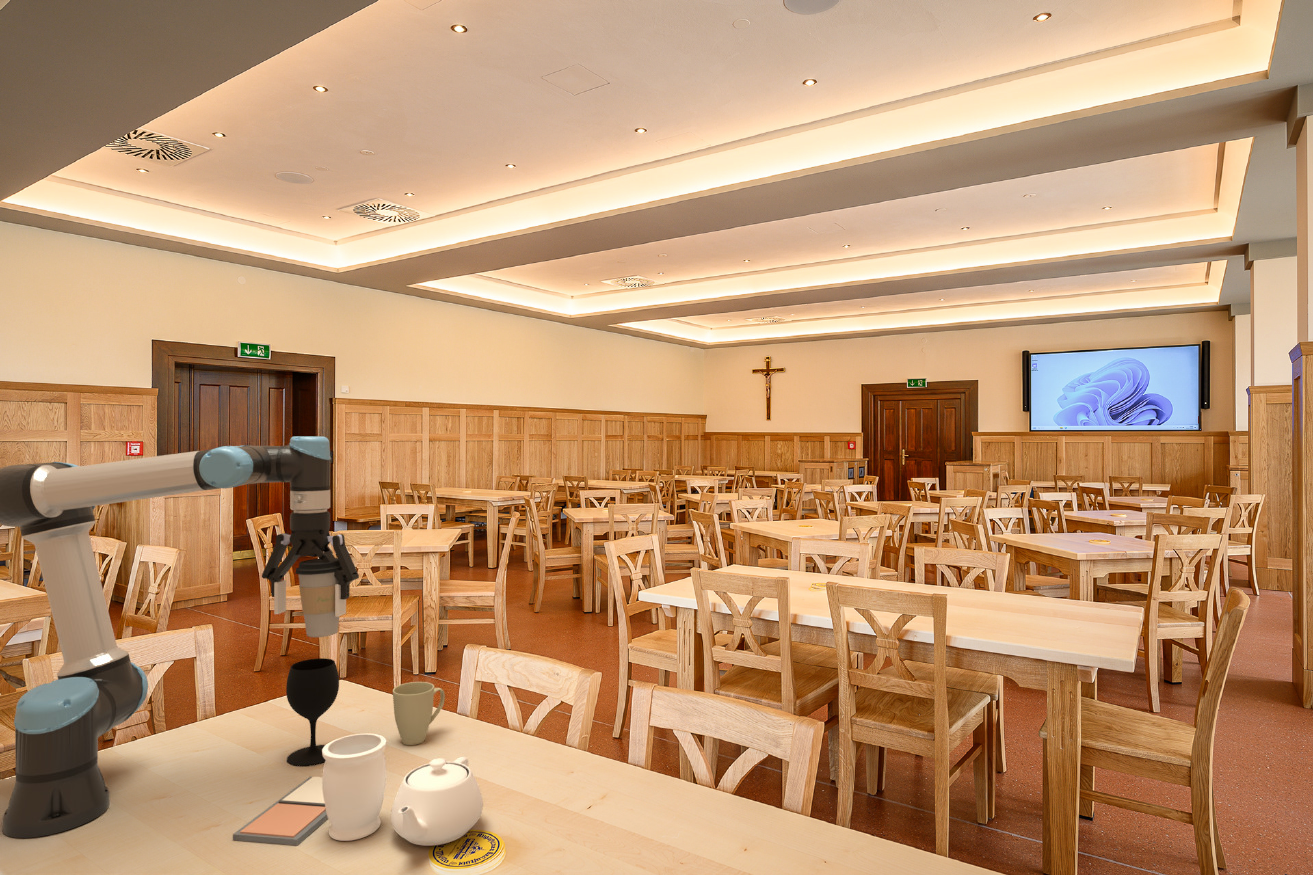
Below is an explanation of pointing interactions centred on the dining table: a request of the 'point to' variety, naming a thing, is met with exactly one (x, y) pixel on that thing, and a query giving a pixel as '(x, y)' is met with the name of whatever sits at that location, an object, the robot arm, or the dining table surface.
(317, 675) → the wine glass
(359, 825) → the jar
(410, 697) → the mug
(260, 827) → the makeup palette
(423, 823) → the teapot
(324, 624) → the coffee cup
